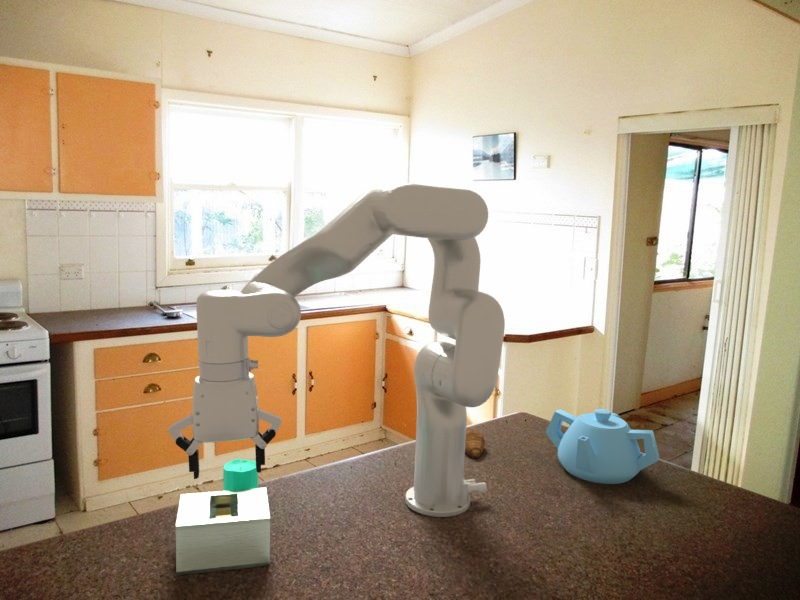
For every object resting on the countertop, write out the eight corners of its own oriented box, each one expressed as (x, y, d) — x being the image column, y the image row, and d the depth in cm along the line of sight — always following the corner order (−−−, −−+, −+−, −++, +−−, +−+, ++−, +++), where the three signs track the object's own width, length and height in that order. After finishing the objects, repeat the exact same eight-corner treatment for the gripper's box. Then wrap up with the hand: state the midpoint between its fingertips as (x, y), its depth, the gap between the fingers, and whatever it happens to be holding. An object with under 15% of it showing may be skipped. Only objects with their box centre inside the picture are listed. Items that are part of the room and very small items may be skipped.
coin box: (265, 530, 112) (266, 487, 111) (269, 565, 101) (270, 518, 100) (181, 538, 108) (180, 494, 107) (176, 575, 98) (175, 526, 97)
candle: (249, 530, 112) (249, 465, 110) (217, 526, 113) (217, 461, 111) (263, 514, 117) (263, 452, 116) (233, 510, 119) (232, 448, 117)
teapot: (544, 453, 151) (549, 397, 149) (621, 453, 154) (627, 397, 152) (575, 490, 133) (581, 426, 130) (662, 489, 135) (669, 426, 133)
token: (230, 507, 108) (231, 521, 103) (230, 534, 109) (231, 550, 104) (215, 508, 107) (216, 523, 103) (215, 536, 108) (216, 552, 104)
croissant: (491, 461, 147) (492, 440, 146) (461, 460, 146) (463, 440, 145) (478, 439, 160) (480, 420, 159) (452, 439, 159) (453, 419, 159)
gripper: (278, 360, 106) (280, 457, 109) (167, 366, 102) (173, 468, 104) (282, 372, 99) (284, 476, 102) (163, 379, 94) (169, 488, 97)
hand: (227, 472), depth 103 cm, fingers open, 9 cm apart
